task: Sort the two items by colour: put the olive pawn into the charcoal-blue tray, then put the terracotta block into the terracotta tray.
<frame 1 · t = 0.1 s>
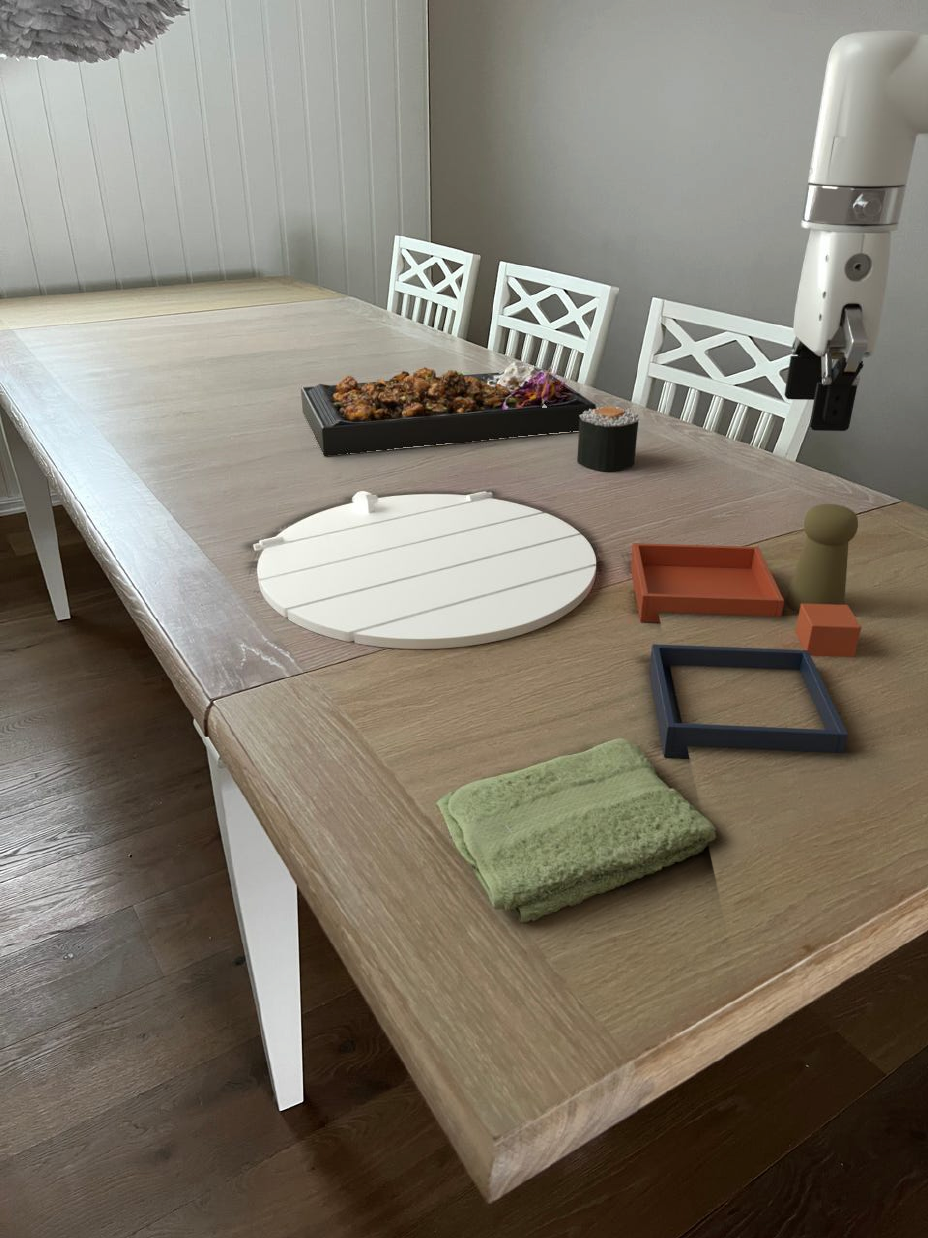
hand: (814, 413, 84), 22 cm above the table, tool pointing down, fingers open, 9 cm apart
sushi: (606, 463, 140), on the table
olive pawn: (814, 604, 100), on the table
terracotta block: (821, 655, 90), on the table
terracotta tray: (700, 595, 101), on the table
food platter: (444, 422, 158), on the table
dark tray: (737, 715, 81), on the table
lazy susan: (426, 564, 109), on the table
washcloth: (571, 839, 68), on the table
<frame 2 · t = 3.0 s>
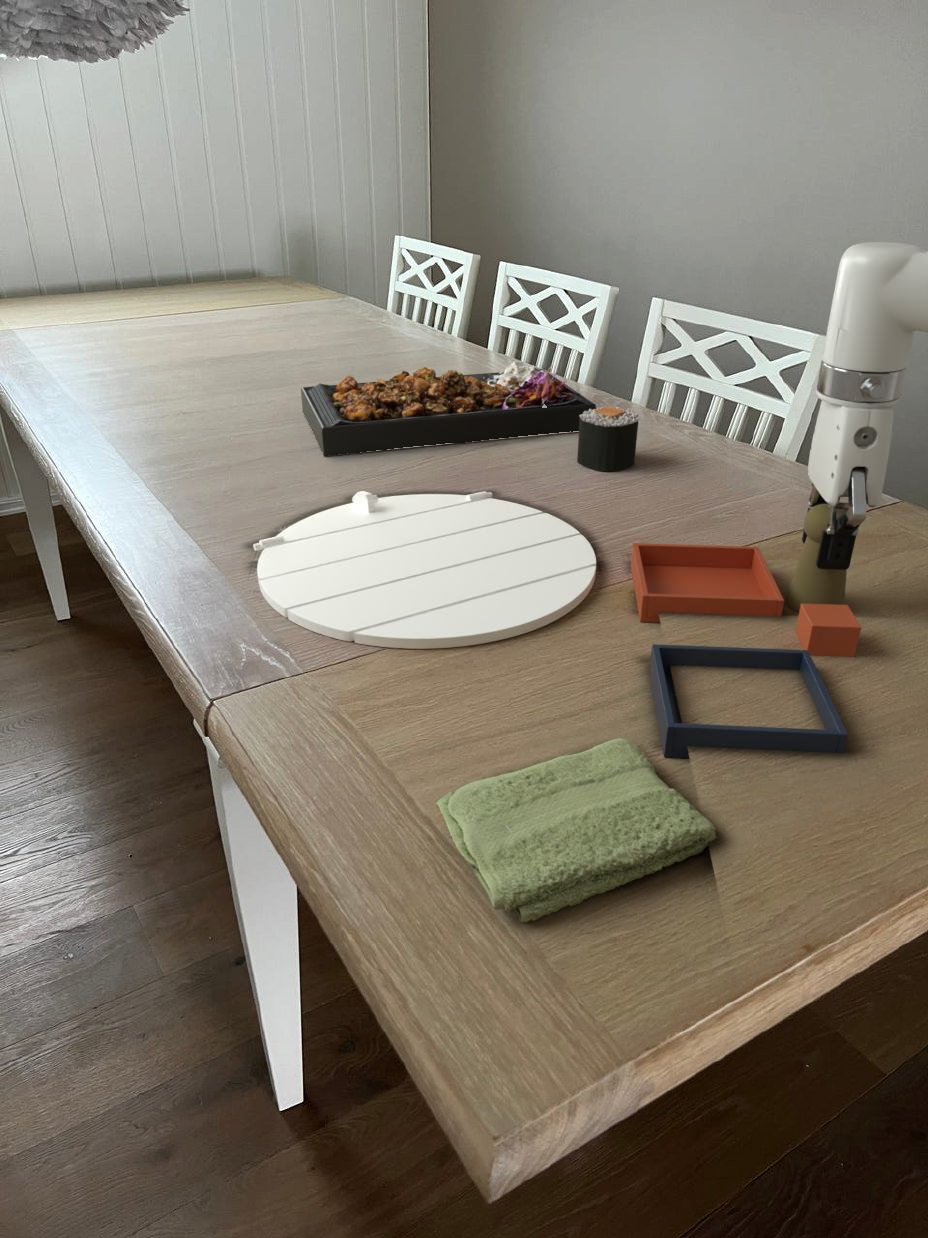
hand: (824, 554, 97), 6 cm above the table, tool pointing down, fingers closed on olive pawn, 5 cm apart
olive pawn: (814, 604, 100), on the table, touching gripper
everything else where it was.
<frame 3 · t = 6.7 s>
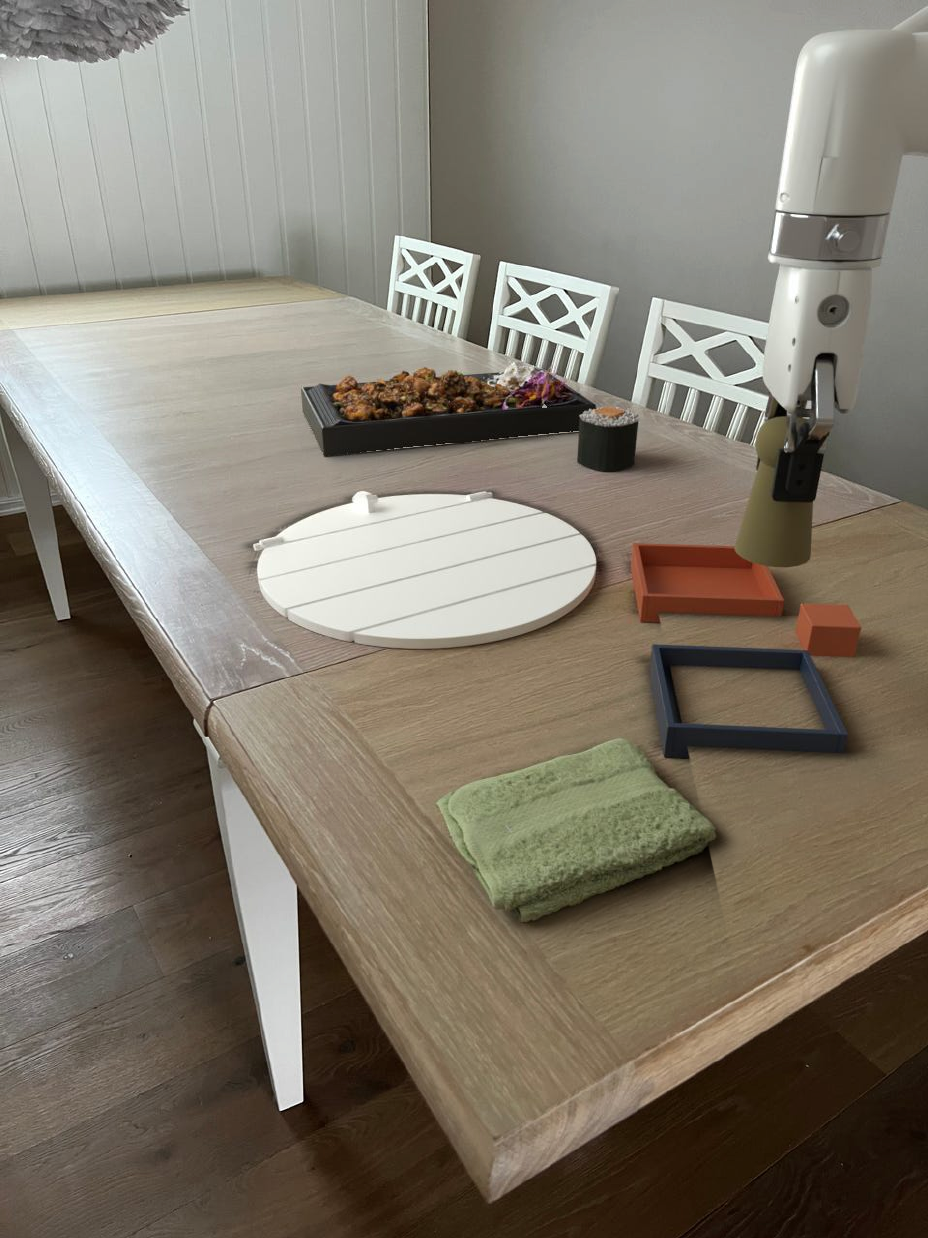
hand: (784, 484, 73), 21 cm above the table, tool pointing down, fingers closed on olive pawn, 5 cm apart
olive pawn: (771, 553, 76), point 15 cm above the table, touching gripper
everything else where it was.
when the fingers open (6 cm above the table, at t = 10.4 s): olive pawn stays where it is, resting on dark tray.
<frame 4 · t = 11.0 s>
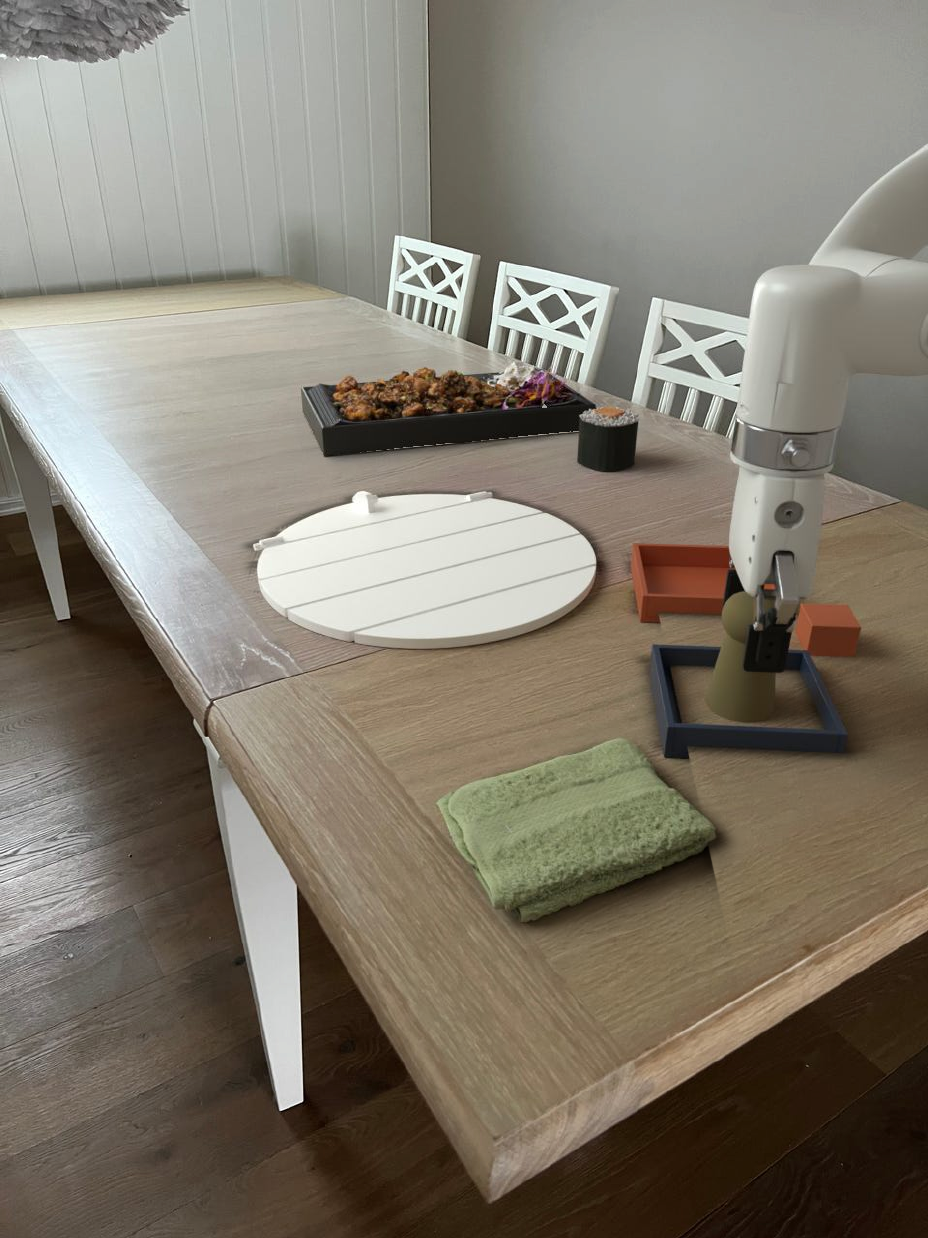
hand: (751, 639, 78), 8 cm above the table, tool pointing down, fingers open, 9 cm apart
olive pawn: (738, 711, 81), resting on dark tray
everything else where it was.
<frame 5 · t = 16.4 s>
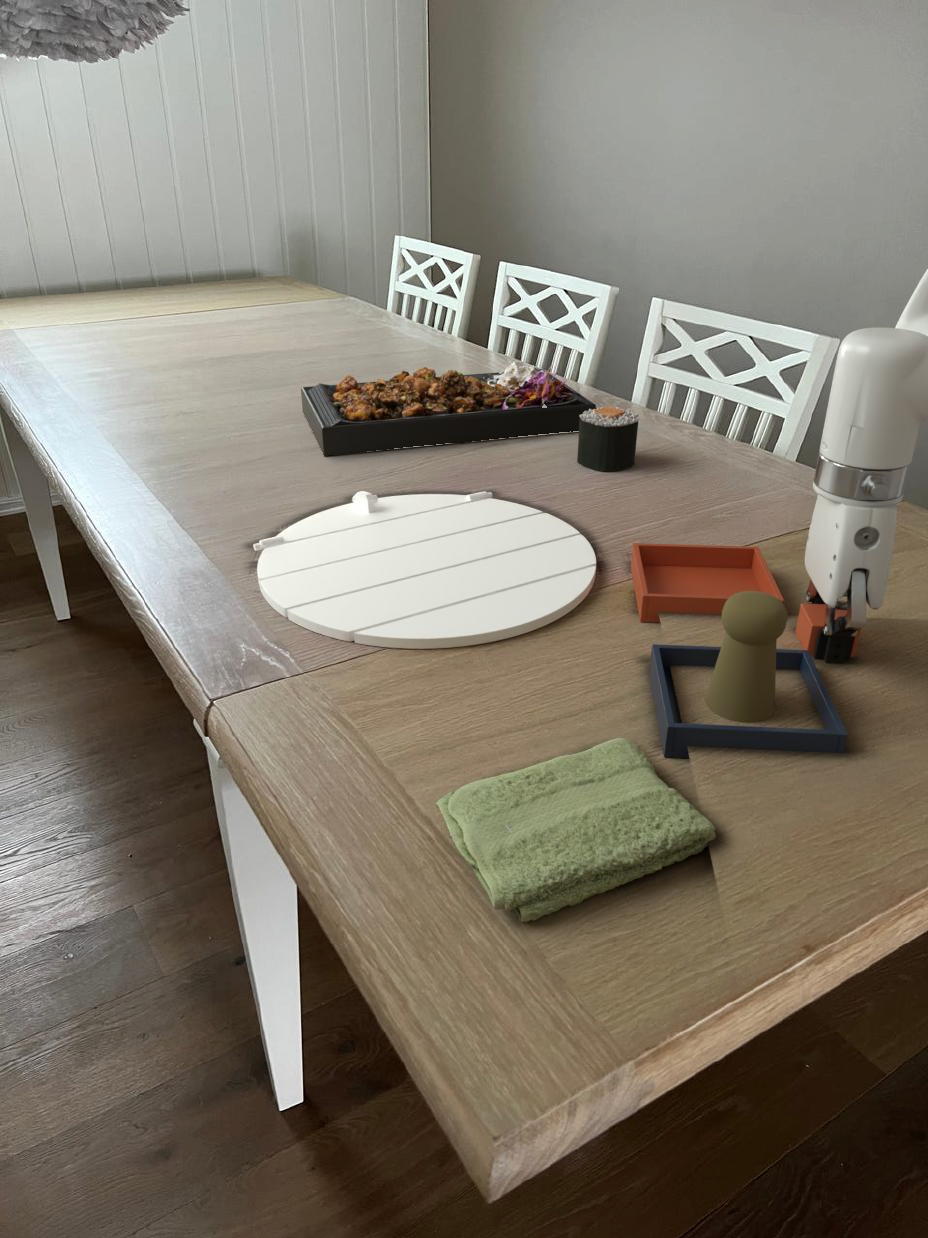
hand: (822, 652, 90), 0 cm above the table, tool pointing down, fingers closed on terracotta block, 4 cm apart
terracotta block: (821, 655, 90), on the table, touching gripper
everything else where it was.
when the fingers open (1 cm above the table, at t = 22.9 s): terracotta block stays where it is, resting on terracotta tray.
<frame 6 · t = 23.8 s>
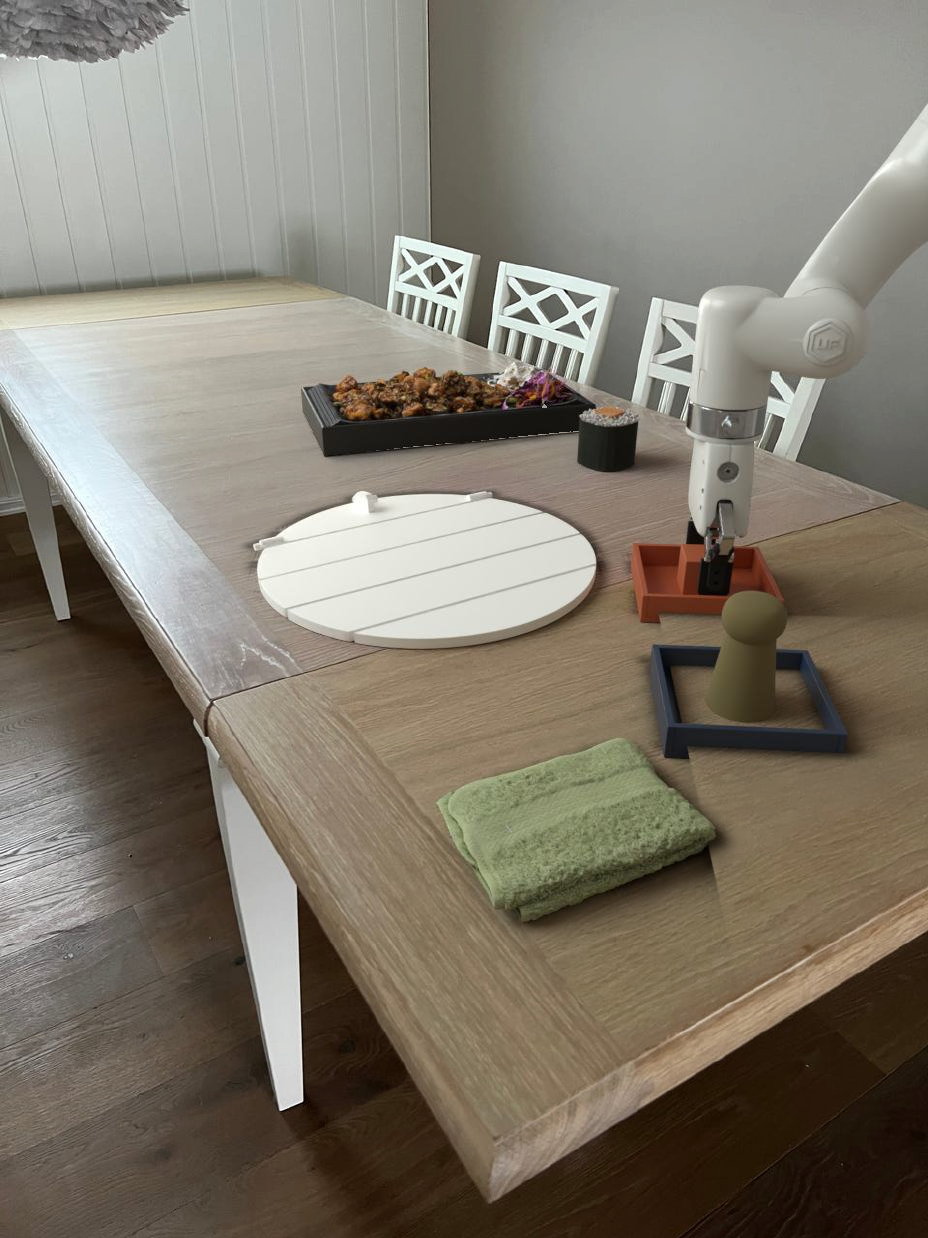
hand: (705, 573, 100), 3 cm above the table, tool pointing down, fingers open, 9 cm apart
terracotta block: (699, 590, 101), point 1 cm above the table, touching terracotta tray
everything else where it was.
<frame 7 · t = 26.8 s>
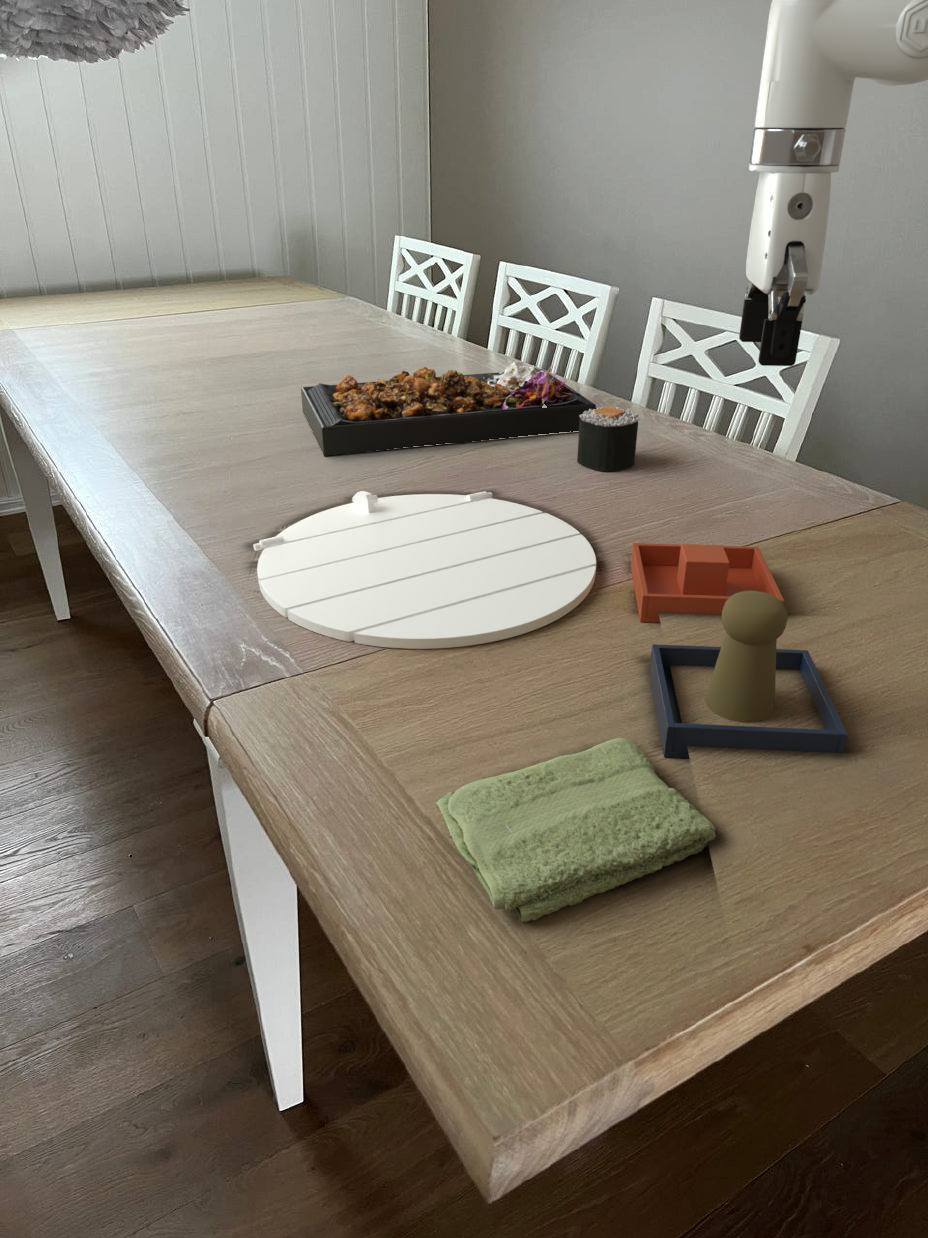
hand: (765, 352, 88), 26 cm above the table, tool pointing down, fingers open, 9 cm apart
nothing on the table moved.
at the end: olive pawn inside the target area in the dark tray (0.0 cm from its centre), point 0.4 cm above the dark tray's base; olive pawn tilted 0°; terracotta block inside the target area in the terracotta tray (0.1 cm from its centre), point 0.6 cm above the terracotta tray's base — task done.
